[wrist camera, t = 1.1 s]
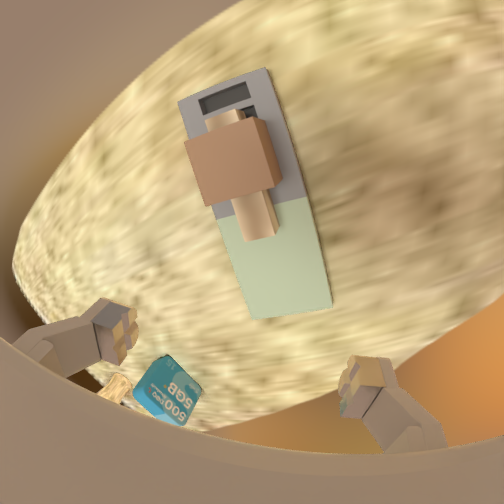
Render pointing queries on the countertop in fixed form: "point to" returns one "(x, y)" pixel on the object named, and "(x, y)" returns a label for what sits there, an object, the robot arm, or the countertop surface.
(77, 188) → the countertop surface
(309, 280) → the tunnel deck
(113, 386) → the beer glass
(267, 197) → the birch bar
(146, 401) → the data package
